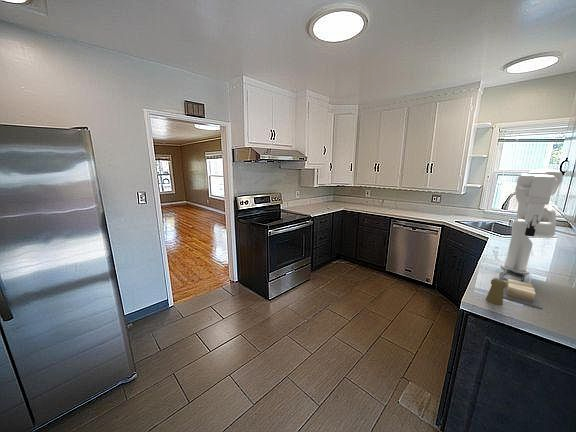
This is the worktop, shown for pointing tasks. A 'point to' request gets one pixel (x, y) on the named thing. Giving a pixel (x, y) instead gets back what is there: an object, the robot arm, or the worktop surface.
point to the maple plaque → (520, 290)
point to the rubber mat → (535, 303)
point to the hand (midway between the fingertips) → (529, 235)
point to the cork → (496, 292)
